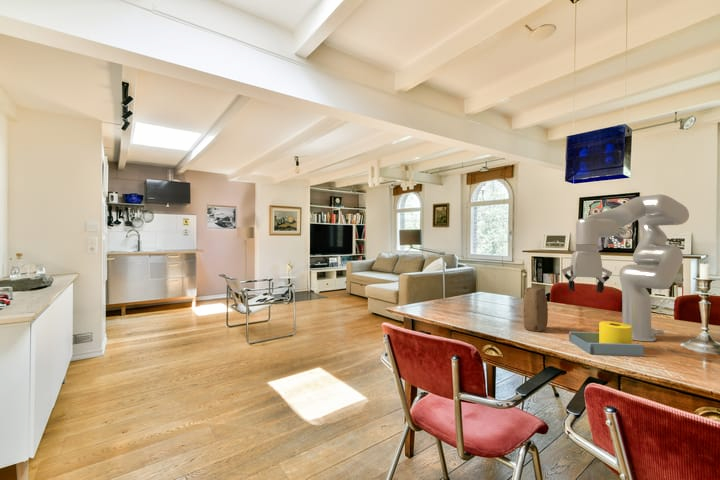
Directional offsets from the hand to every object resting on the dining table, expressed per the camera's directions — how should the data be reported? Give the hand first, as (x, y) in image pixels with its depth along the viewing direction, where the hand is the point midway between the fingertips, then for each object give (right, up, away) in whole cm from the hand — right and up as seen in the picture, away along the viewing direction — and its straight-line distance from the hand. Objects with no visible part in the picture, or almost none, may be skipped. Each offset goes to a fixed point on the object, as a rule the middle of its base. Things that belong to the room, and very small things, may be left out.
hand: (585, 291), depth 129 cm
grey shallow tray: (+5, -22, -3) cm, 23 cm away
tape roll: (+9, -22, -3) cm, 24 cm away
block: (-7, -22, +23) cm, 33 cm away
